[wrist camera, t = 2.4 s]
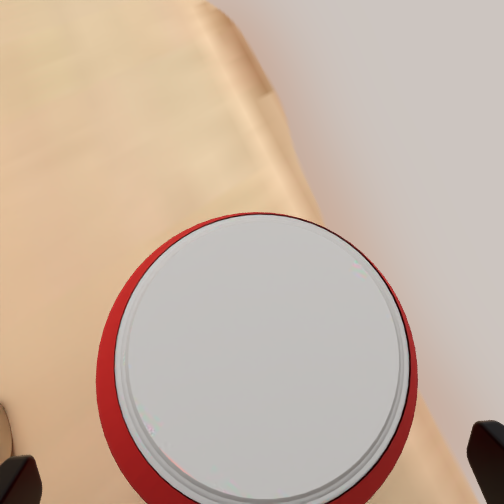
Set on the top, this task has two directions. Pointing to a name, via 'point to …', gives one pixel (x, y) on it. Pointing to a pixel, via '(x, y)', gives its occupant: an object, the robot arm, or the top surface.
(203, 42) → the top surface
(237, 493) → the beverage can
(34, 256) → the top surface
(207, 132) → the top surface
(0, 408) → the roller
